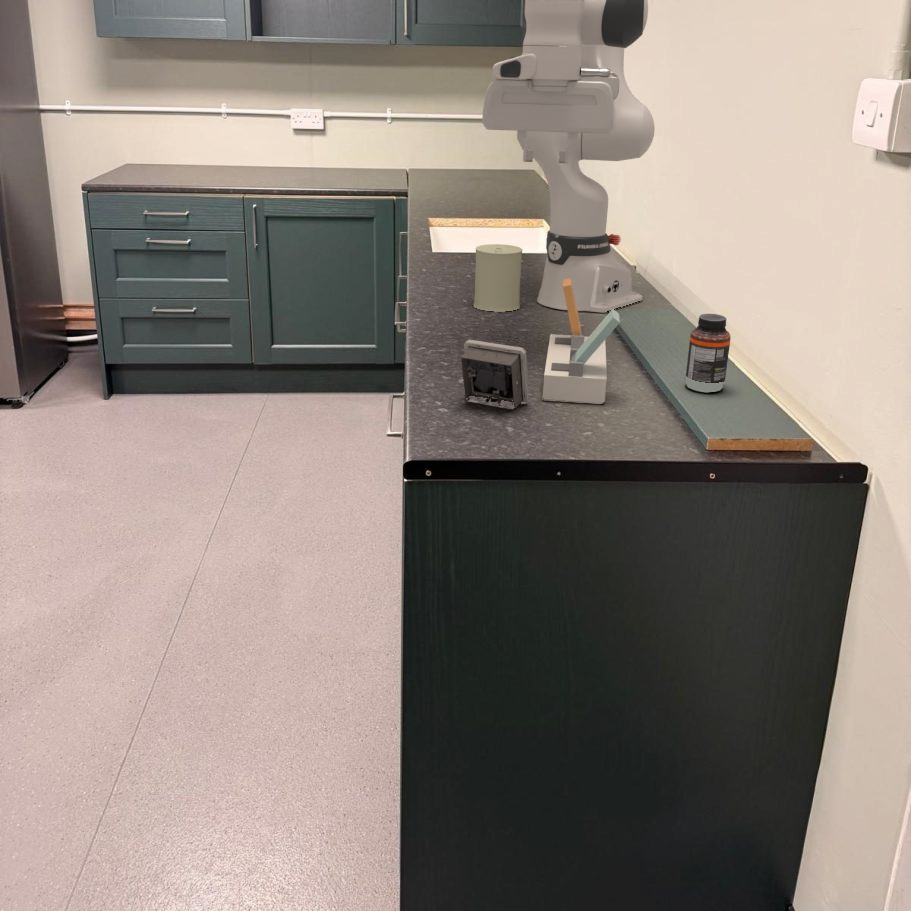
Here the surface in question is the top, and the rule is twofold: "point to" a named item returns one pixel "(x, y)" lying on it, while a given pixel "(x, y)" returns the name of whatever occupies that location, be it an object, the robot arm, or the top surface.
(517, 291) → the can
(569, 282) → the rocker orange
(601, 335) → the rocker teal
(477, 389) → the electrical switch
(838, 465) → the top surface
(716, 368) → the supplement bottle
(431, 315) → the top surface
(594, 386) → the white switch base
